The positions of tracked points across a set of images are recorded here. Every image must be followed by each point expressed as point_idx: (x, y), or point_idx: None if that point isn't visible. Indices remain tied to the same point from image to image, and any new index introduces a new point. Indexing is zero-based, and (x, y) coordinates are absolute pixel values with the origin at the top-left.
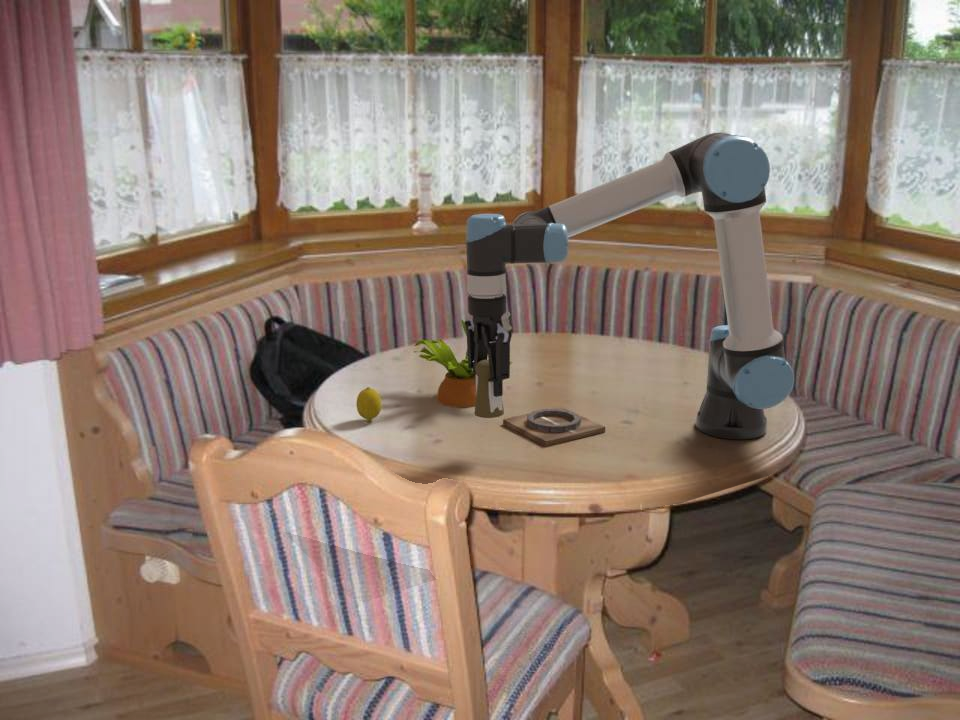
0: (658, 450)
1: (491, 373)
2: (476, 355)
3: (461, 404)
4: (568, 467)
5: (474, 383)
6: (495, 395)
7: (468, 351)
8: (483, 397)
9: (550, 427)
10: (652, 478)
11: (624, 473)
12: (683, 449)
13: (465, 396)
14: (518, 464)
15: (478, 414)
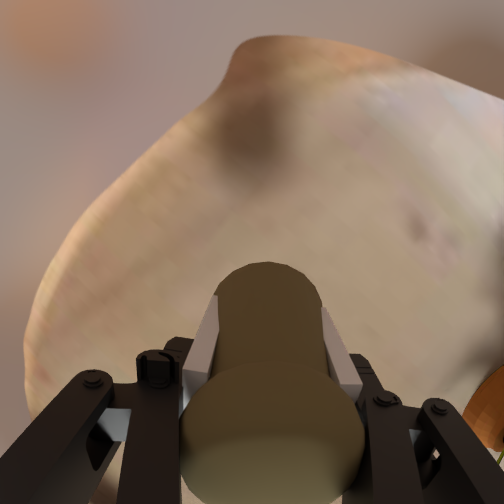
0: (111, 464)
1: (164, 405)
2: (392, 488)
3: (488, 383)
4: (107, 343)
5: (493, 429)
6: (181, 340)
7: (489, 468)
8: (242, 306)
9: None
10: (31, 386)
11: (54, 379)
12: (102, 477)
13: (491, 398)
14: (173, 281)
15: (263, 264)
